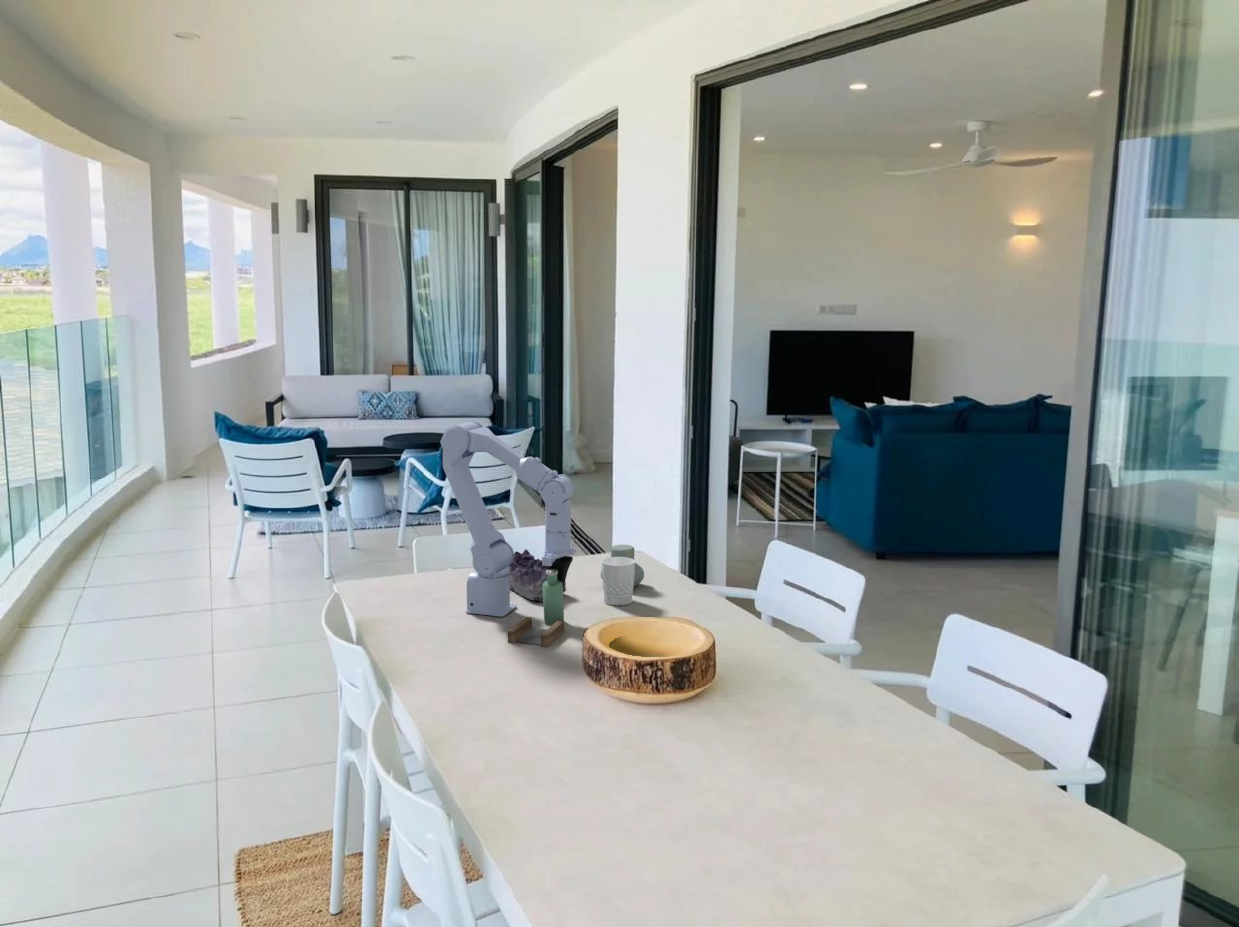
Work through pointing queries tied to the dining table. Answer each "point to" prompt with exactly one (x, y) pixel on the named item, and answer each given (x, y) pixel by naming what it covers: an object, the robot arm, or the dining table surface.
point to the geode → (528, 576)
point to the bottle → (553, 598)
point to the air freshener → (628, 553)
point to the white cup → (618, 580)
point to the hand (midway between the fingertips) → (558, 589)
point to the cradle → (535, 633)
